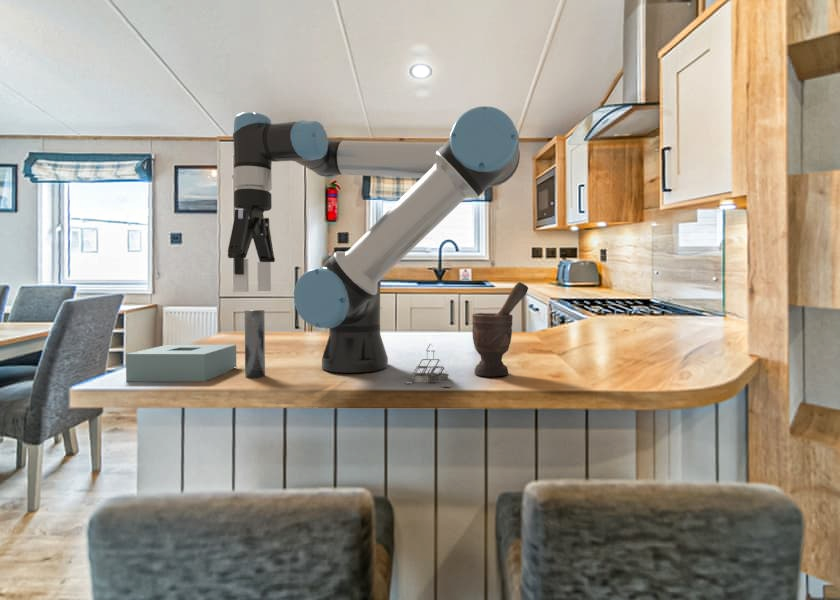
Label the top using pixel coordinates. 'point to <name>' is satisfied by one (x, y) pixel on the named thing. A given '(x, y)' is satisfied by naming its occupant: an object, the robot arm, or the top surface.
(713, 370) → the top surface
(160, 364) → the bore block
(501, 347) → the mortar and pestle
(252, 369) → the pin
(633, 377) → the top surface
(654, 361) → the top surface
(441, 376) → the house of cards
